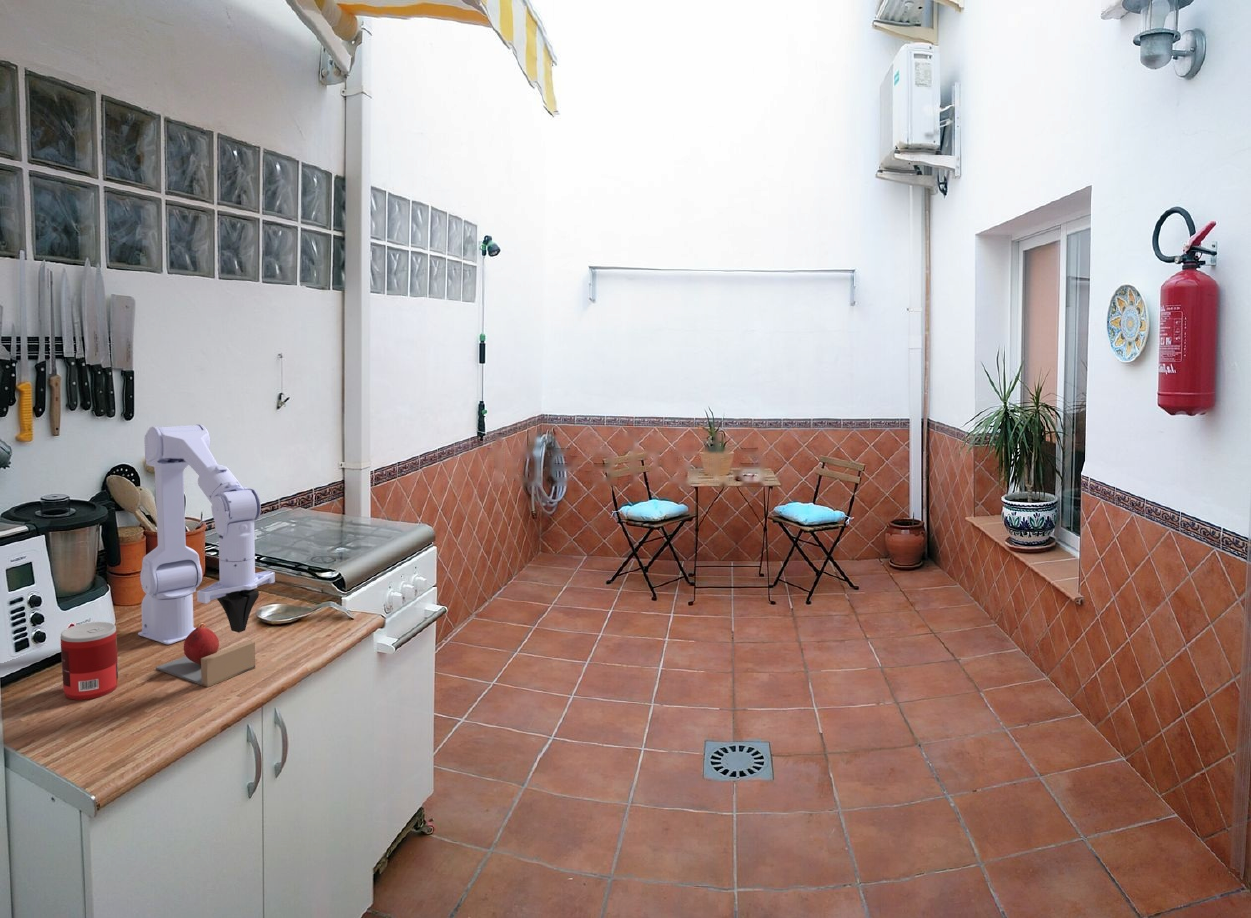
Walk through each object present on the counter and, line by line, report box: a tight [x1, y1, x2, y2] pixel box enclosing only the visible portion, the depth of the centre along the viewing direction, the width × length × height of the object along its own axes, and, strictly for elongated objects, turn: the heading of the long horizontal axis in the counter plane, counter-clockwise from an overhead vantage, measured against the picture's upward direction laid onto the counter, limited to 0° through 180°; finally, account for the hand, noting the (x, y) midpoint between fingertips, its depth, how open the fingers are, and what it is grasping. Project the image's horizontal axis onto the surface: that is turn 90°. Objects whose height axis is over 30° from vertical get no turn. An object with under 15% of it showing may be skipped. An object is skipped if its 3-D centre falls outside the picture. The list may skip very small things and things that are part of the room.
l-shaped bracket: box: [155, 640, 256, 688], centre depth 150 cm, size 14×10×5 cm
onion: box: [183, 622, 220, 665], centre depth 150 cm, size 6×6×8 cm
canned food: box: [60, 621, 119, 701], centre depth 139 cm, size 8×8×11 cm
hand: (238, 630), depth 145 cm, fingers closed
